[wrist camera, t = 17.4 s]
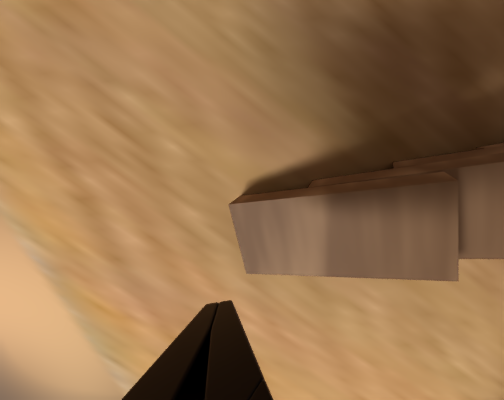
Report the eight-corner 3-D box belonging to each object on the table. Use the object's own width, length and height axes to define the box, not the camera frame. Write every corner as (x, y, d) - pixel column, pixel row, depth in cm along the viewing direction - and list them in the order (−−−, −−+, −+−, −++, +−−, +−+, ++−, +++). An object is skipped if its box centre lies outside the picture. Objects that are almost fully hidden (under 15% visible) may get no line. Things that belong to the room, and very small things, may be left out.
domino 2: (312, 180, 14) (554, 145, 10) (324, 245, 15) (547, 240, 11) (307, 187, 13) (586, 150, 8) (321, 258, 14) (574, 259, 10)
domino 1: (240, 195, 14) (443, 171, 10) (255, 259, 16) (445, 260, 11) (228, 204, 13) (458, 180, 9) (246, 273, 14) (458, 281, 10)
